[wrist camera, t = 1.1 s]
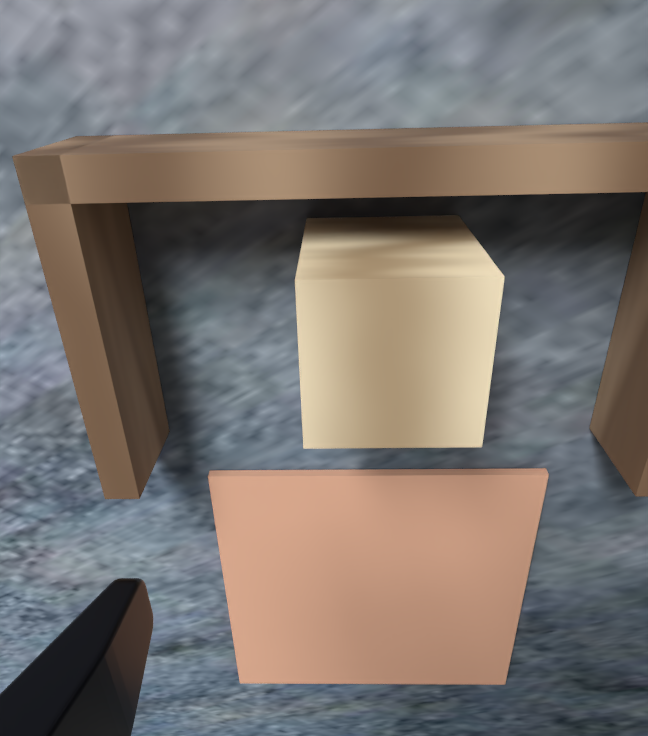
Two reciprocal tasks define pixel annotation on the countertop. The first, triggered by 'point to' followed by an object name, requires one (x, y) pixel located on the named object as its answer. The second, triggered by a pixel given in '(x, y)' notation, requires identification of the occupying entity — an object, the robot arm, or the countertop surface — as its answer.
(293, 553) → the mat
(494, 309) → the maple block
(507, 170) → the open side box
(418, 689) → the countertop surface
